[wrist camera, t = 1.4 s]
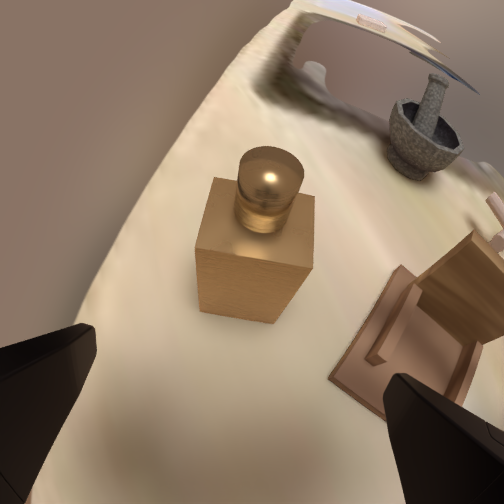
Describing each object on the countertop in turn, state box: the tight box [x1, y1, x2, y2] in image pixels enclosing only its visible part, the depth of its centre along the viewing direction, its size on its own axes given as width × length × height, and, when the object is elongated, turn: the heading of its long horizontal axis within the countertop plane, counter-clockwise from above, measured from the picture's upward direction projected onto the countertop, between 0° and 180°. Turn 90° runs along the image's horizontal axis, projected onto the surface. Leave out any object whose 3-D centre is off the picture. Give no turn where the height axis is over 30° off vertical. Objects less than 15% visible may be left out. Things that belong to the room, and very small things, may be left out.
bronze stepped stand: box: [328, 230, 504, 422], centre depth 18 cm, size 12×12×10 cm
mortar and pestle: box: [387, 73, 464, 181], centre depth 29 cm, size 11×9×12 cm
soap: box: [356, 14, 387, 33], centre depth 69 cm, size 9×6×3 cm, turn 83°
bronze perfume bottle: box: [195, 146, 315, 324], centre depth 18 cm, size 4×6×12 cm
